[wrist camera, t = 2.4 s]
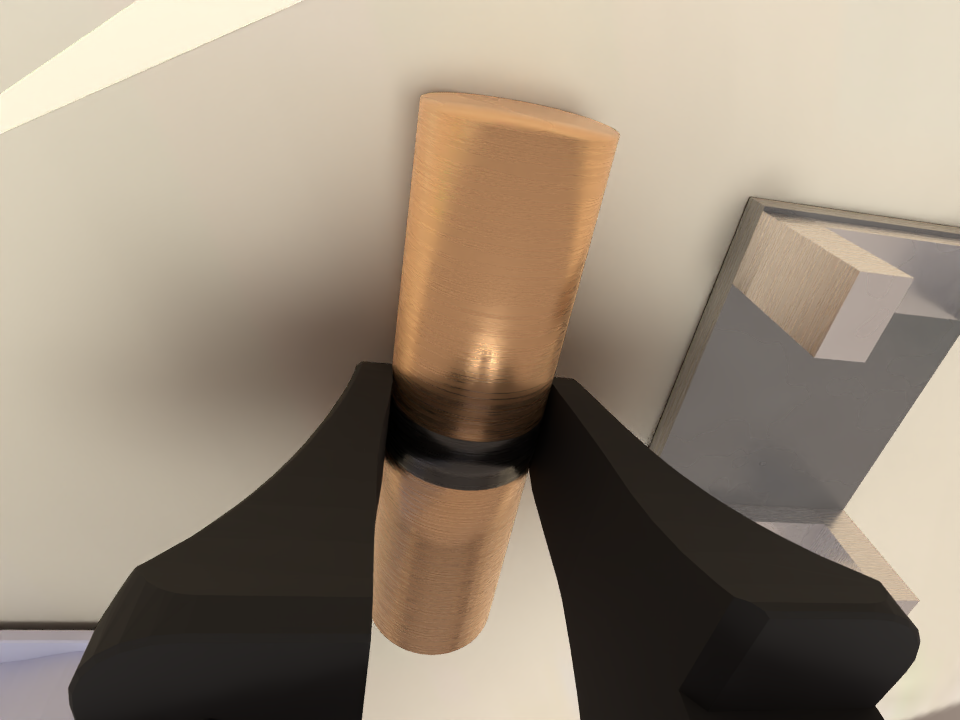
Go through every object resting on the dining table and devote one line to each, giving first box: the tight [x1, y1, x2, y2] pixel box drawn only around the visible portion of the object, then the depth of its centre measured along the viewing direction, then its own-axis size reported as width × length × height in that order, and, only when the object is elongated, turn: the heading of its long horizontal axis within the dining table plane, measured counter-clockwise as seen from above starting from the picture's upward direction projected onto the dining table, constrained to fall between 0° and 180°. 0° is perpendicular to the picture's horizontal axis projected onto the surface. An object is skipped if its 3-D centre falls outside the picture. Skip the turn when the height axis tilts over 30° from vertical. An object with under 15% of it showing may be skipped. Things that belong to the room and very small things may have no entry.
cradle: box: [649, 197, 960, 615], centre depth 14 cm, size 6×10×4 cm, turn 171°
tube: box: [372, 92, 620, 655], centre depth 12 cm, size 12×3×3 cm, turn 171°
